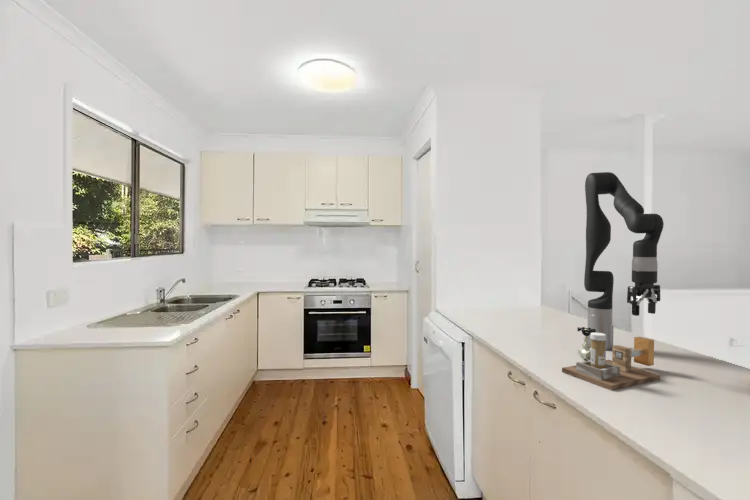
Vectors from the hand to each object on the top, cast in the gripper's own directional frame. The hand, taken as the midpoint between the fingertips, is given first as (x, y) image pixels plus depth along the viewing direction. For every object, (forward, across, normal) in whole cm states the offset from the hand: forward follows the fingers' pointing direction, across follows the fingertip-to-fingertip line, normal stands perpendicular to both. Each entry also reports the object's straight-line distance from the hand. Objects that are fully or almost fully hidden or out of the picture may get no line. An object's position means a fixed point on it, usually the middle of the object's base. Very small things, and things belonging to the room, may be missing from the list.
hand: (643, 314), depth 136 cm
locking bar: (+18, +6, +1) cm, 19 cm away
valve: (+20, +10, -15) cm, 27 cm away
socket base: (+19, +18, +1) cm, 27 cm away
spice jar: (+18, +24, +1) cm, 30 cm away
